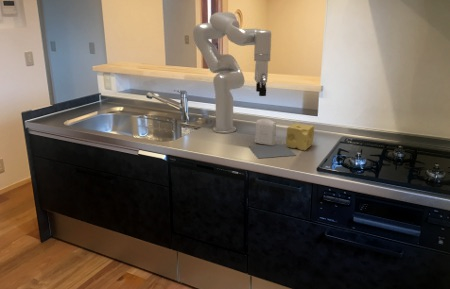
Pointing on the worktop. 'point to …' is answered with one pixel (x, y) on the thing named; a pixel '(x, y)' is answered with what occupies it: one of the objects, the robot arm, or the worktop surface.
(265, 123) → the photo printer
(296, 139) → the cheese
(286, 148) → the mat
